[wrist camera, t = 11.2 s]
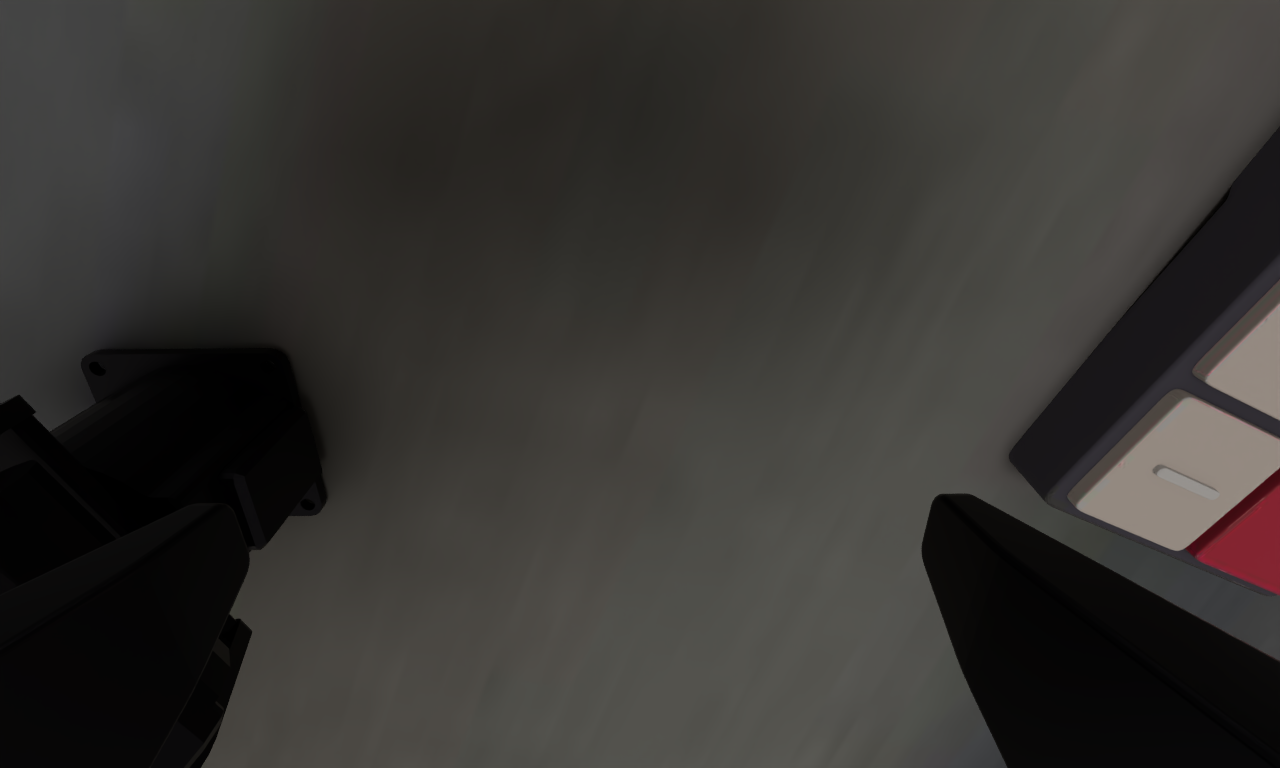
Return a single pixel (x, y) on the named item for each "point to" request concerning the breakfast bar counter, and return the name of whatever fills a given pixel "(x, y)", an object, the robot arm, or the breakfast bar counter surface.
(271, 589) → the breakfast bar counter surface
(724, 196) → the breakfast bar counter surface
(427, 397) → the breakfast bar counter surface
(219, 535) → the robot arm
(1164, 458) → the calculator
